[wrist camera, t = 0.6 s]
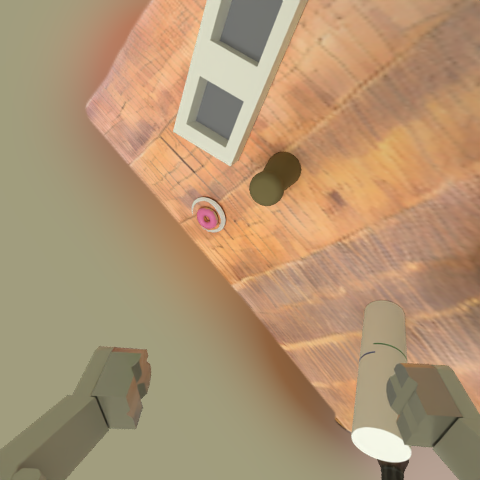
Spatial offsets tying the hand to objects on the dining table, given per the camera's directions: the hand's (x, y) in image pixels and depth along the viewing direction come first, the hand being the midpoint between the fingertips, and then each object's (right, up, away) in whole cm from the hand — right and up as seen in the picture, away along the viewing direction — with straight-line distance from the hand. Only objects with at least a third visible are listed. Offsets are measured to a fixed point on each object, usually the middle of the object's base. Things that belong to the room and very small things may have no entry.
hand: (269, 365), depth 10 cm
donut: (-6, +11, +54) cm, 55 cm away
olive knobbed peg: (+7, +17, +43) cm, 46 cm away
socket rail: (-2, +31, +38) cm, 49 cm away
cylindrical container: (+27, -10, +49) cm, 57 cm away
